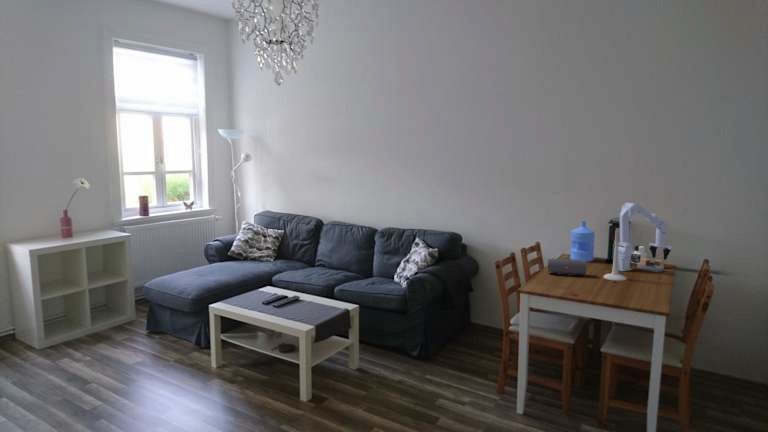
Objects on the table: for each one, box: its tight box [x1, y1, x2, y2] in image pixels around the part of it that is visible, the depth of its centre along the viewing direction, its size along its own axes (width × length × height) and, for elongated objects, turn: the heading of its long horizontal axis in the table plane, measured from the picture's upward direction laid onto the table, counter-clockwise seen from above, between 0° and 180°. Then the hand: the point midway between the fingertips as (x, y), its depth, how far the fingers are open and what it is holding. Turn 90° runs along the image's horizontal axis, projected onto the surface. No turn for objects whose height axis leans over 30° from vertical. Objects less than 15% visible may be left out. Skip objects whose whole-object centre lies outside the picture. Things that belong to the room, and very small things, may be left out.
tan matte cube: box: [653, 259, 665, 268], centre depth 328 cm, size 5×4×5 cm
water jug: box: [569, 220, 596, 263], centre depth 353 cm, size 16×16×28 cm
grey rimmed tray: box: [636, 258, 665, 273], centre depth 324 cm, size 14×7×6 cm, turn 29°
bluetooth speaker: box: [547, 258, 587, 276], centre depth 312 cm, size 23×9×10 cm, turn 71°
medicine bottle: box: [630, 245, 648, 265], centre depth 343 cm, size 7×7×12 cm
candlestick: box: [603, 230, 627, 282], centre depth 301 cm, size 13×13×30 cm
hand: (659, 258), depth 328 cm, fingers open, 7 cm apart
